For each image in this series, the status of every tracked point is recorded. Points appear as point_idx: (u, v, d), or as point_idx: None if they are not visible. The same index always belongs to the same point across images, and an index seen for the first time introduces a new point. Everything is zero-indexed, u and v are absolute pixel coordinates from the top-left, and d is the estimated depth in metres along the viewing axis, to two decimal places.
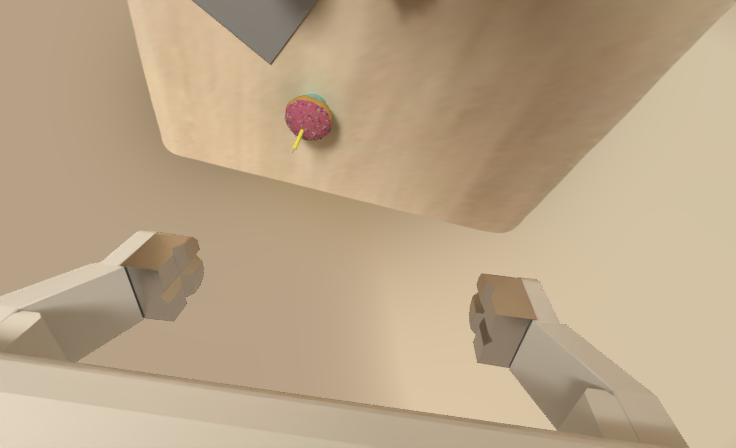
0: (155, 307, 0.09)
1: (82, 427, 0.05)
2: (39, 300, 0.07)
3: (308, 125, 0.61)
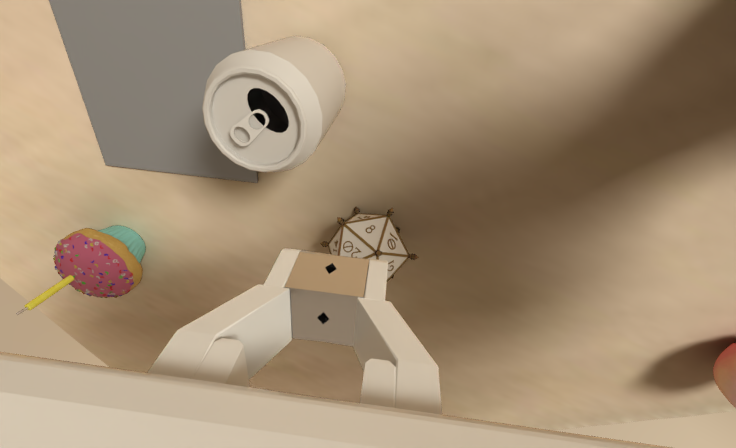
0: (308, 327, 0.09)
1: (82, 427, 0.05)
2: (231, 326, 0.07)
3: (88, 281, 0.37)
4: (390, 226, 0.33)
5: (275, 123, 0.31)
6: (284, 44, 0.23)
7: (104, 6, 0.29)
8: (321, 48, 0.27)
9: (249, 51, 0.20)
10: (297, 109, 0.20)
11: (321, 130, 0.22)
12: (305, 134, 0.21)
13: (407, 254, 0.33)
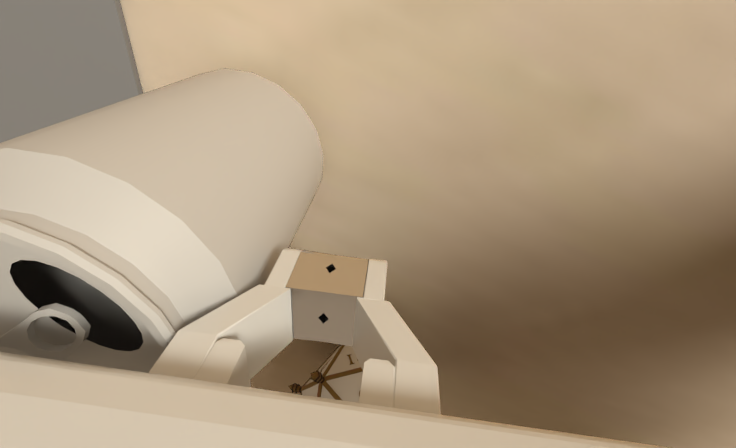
0: (309, 328, 0.09)
1: (82, 427, 0.05)
2: (232, 326, 0.07)
3: None
4: None
5: None
6: (166, 104, 0.10)
7: None
8: (271, 96, 0.14)
9: (4, 153, 0.07)
10: (147, 325, 0.07)
11: None
12: None
13: None
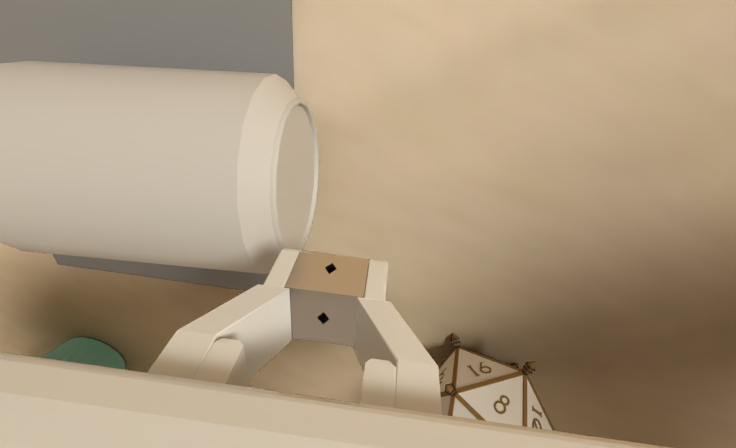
0: (308, 328, 0.09)
1: (82, 427, 0.05)
2: (231, 326, 0.07)
3: None
4: (530, 392, 0.19)
5: None
6: (110, 68, 0.12)
7: (31, 17, 0.15)
8: (205, 97, 0.11)
9: None
10: None
11: None
12: None
13: None
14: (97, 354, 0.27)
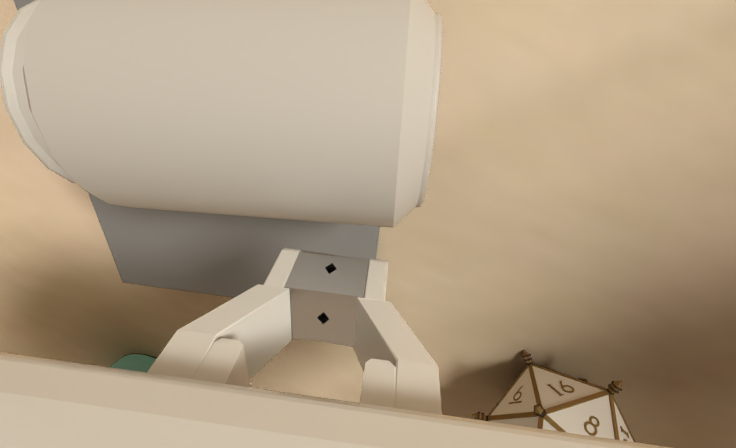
0: (308, 327, 0.09)
1: (82, 427, 0.05)
2: (231, 326, 0.07)
3: None
4: (617, 412, 0.19)
5: None
6: None
7: None
8: None
9: None
10: None
11: (36, 13, 0.09)
12: (7, 28, 0.10)
13: None
14: None
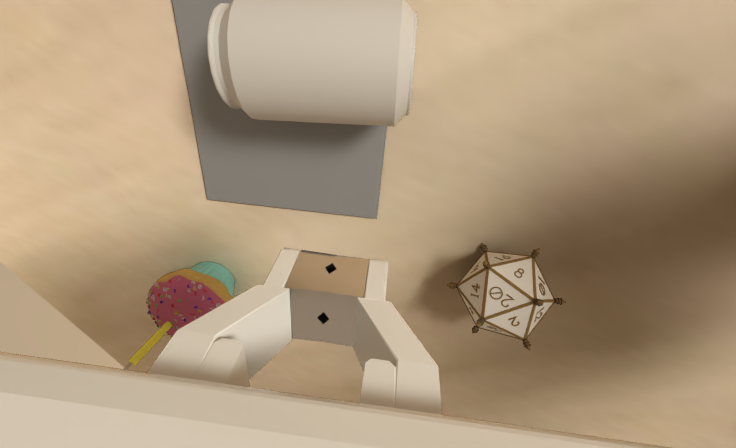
0: (308, 328, 0.09)
1: (82, 427, 0.05)
2: (231, 326, 0.07)
3: None
4: (536, 268, 0.30)
5: (375, 124, 0.23)
6: None
7: None
8: None
9: None
10: None
11: (231, 9, 0.20)
12: (210, 17, 0.20)
13: (553, 299, 0.30)
14: (221, 272, 0.37)
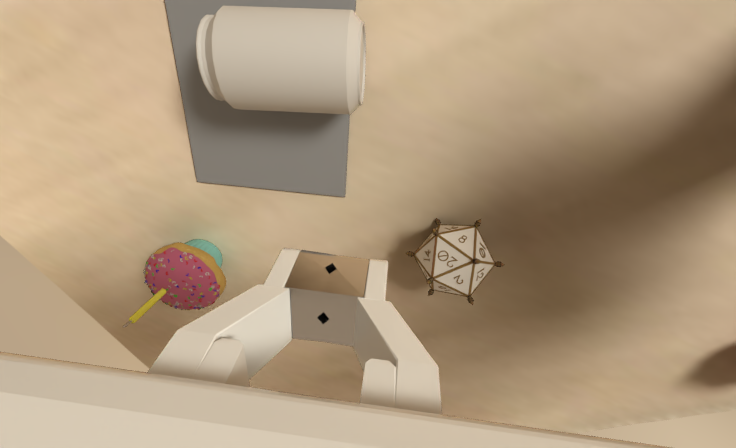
0: (308, 328, 0.09)
1: (82, 427, 0.05)
2: (231, 326, 0.07)
3: (180, 294, 0.38)
4: (478, 236, 0.35)
5: (334, 112, 0.28)
6: None
7: None
8: None
9: None
10: None
11: (215, 21, 0.25)
12: (198, 27, 0.25)
13: (494, 262, 0.36)
14: (209, 247, 0.42)
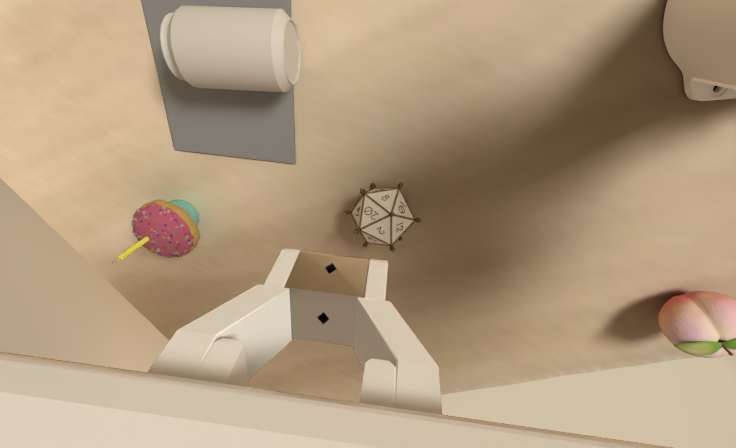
0: (308, 327, 0.09)
1: (82, 427, 0.05)
2: (231, 326, 0.07)
3: (160, 241, 0.46)
4: (400, 196, 0.42)
5: (271, 90, 0.36)
6: None
7: None
8: None
9: None
10: None
11: (173, 18, 0.32)
12: None
13: (413, 218, 0.43)
14: (187, 206, 0.50)
